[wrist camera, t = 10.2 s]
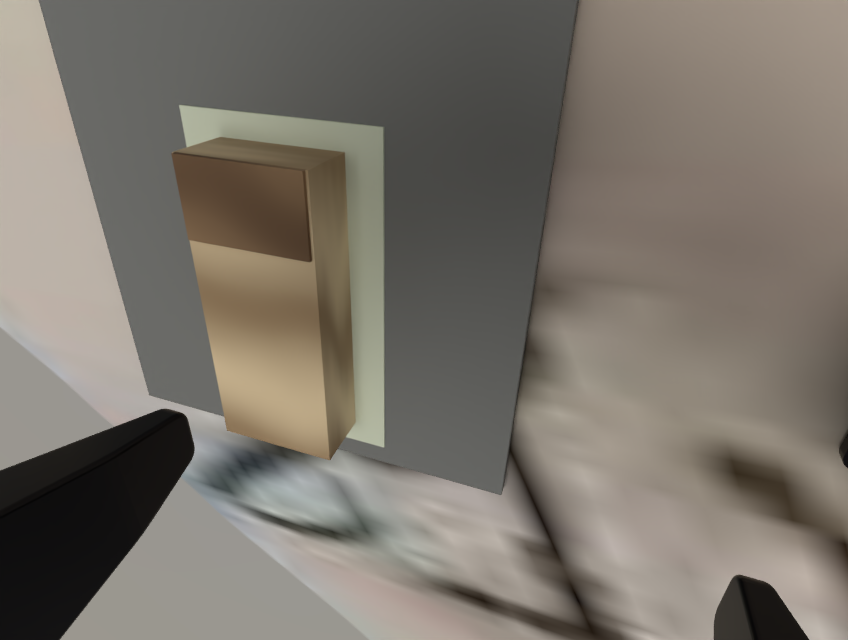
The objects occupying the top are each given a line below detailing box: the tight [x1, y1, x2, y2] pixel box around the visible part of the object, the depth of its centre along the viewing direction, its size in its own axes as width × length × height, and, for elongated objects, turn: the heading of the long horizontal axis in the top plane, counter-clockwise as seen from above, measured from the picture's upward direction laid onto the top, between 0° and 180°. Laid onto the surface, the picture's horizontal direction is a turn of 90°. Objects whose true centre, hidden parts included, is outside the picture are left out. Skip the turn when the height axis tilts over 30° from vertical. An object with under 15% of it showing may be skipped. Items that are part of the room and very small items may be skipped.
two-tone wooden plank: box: [171, 137, 356, 460], centre depth 21 cm, size 12×5×3 cm, turn 178°
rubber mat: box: [39, 0, 579, 495], centre depth 18 cm, size 19×32×1 cm, turn 178°
